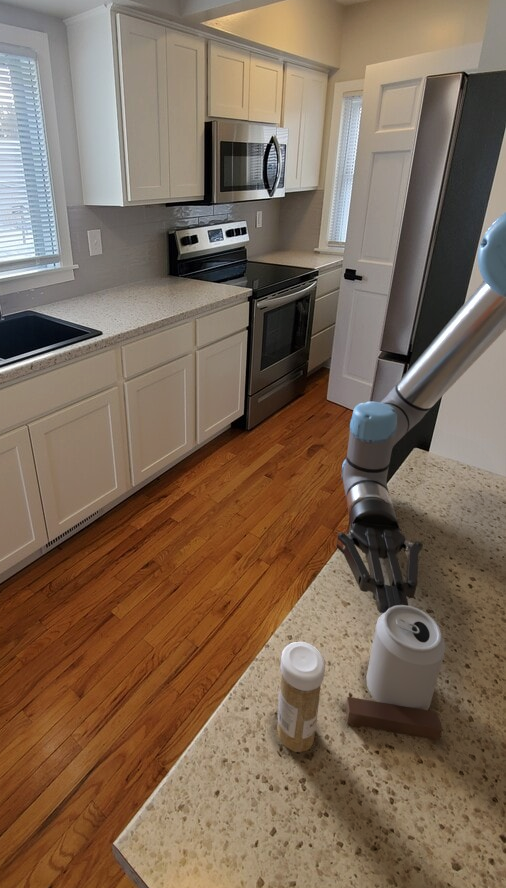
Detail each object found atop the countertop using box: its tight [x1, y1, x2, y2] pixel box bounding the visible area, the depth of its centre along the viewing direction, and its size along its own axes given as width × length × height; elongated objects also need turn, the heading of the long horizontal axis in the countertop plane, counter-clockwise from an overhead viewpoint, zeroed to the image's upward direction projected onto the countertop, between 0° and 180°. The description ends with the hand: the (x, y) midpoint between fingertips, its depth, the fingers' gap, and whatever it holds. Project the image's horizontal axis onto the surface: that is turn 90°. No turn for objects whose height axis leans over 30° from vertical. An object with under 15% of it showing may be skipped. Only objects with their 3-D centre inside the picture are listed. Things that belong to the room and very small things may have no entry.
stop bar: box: [344, 696, 443, 742], centre depth 57 cm, size 10×2×3 cm, turn 79°
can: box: [365, 605, 446, 711], centre depth 59 cm, size 8×8×12 cm
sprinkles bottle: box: [276, 641, 326, 753], centre depth 54 cm, size 5×5×14 cm
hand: (398, 632), depth 62 cm, fingers closed
